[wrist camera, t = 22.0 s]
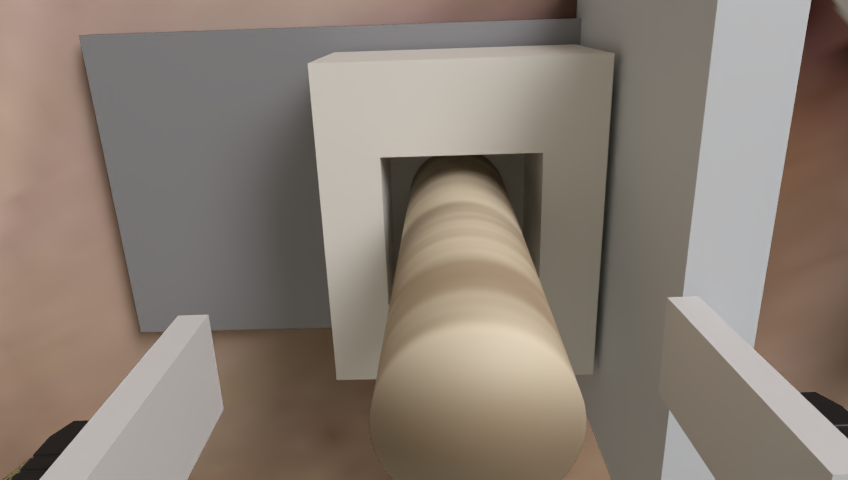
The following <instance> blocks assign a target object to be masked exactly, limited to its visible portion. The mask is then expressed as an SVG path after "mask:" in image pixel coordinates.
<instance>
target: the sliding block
mask: <svg viewBox="0 0 848 480" xmlns="http://www.w3.org/2000/svg"><path fill="white" fill-rule="evenodd" d="M614 57H615V53H611V52H607V51H603V50H598V49H594V48H589V47H585V46H580V45H576V44H568V45H538V46H508V47H478V48H448V49H418V50H388V51H358V52H334V53H331V54H329V55H326V56H324V57H322V58H319V59H317V60H314V61H312V62H310V63H308V74H309V85H310V96H311V107H312V118H313V128H314V139H315V150H316V161H317V172H318V183H319V194H320V204H321V215H322V226H323V237H324V248H325V259H326V269H327V280H328V291H329V302H330V313H331V324H332V334H333V345H334V356H335V367H336V378H337V380H360V379H376V377H377V372H378V366H379V361H380V355H381V350H382V344H383V339H384V333H385V328H386V322H387V316H388V311H389V305H390V300H391V294H392V289H393V283H394V278H395V272H396V267H397V261H398V256H399V250H400V245H401V239H402V234H403V228H404V223H405V217H406V211H407V206H408V200H409V195H410V189H411V184H412V181H413V178H414V176H415V174H416V172H417V170H418V169H419V167H420V166H421V165H422V164H423V163H424V162H425V161H426V160H427V159H428V158H430V157H431V156H451V155H483V156H484V157H486V158H487V159H488V160H489V161H491V162H492V163H493V165H494V166H495V167H496V168H497V170H498V171H499V173H500V175H501V178H502V180H503V183H504V186H505V188H506V191H507V194H508V196H509V199H510V202H511V205H512V207H513V210H514V213H515V215H516V218H517V221H518V223H519V226H520V229H521V232H522V234H523V237H524V240H525V242H526V245H527V248H528V250H529V253H530V256H531V259H532V261H533V264H534V267H535V269H536V272H537V275H538V277H539V280H540V283H541V286H542V288H543V291H544V294H545V296H546V299H547V302H548V304H549V307H550V310H551V313H552V315H553V318H554V321H555V323H556V326H557V329H558V331H559V334H560V337H561V340H562V342H563V345H564V348H565V350H566V353H567V356H568V358H569V361H570V364H571V367H572V369H573V372H574V375H589V374H593V366H594V351H595V336H596V322H597V307H598V292H599V278H600V263H601V248H602V233H603V219H604V204H605V189H606V175H607V160H608V145H609V130H610V116H611V101H612V86H613V72H614Z"/></svg>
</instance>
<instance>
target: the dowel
mask: <svg viewBox="0 0 848 480" xmlns="http://www.w3.org/2000/svg"><path fill="white" fill-rule="evenodd" d="M369 427H370V435H371V440H372V444H373V447H374V450H375V453H376V455H377V457H378V459H379V461H380V463H381V464H382V466H383V467H384V469H385V470H386V472H387V473H388V474H389V475H390V476H391V478H392V479H393V480H561V479H562V478H563V477H564V476H565V475H566V474H567V473H568V472H569V470H570V469H571V467H572V466H573V464H574V463H575V461H576V459H577V457H578V455H579V453H580V451H581V448H582V445H583V442H584V439H585V432H586V410H585V403H584V400H583V397H582V394H581V391H580V388H579V385H578V383H577V380H576V377H575V375H574V372H573V369H572V367H571V364H570V361H569V358H568V356H567V353H566V350H565V348H564V345H563V342H562V340H561V337H560V334H559V331H558V329H557V326H556V323H555V321H554V318H553V315H552V313H551V310H550V307H549V304H548V302H547V299H546V296H545V294H544V291H543V288H542V286H541V283H540V280H539V277H538V275H537V272H536V269H535V267H534V264H533V261H532V259H531V256H530V253H529V250H528V248H527V245H526V242H525V240H524V237H523V234H522V232H521V229H520V226H519V223H518V221H517V218H516V215H515V213H514V210H513V207H512V205H511V202H510V199H509V196H508V194H507V191H506V188H505V186H504V183H503V180H502V178H501V175H500V173H499V171H498V170H497V168H496V167H495V166H494V165H493V163H492V162H491V161H489V160H488V159H487V158H486V157H484V156H483V155H451V156H431V157H430V158H428V159H427V160H426V161H425V162H424V163H423V164H422V165H421V166H420V167H419V169H418V170H417V172H416V174H415V176H414V178H413V181H412V184H411V189H410V195H409V200H408V206H407V211H406V217H405V223H404V228H403V234H402V239H401V245H400V250H399V256H398V261H397V267H396V272H395V278H394V283H393V289H392V294H391V300H390V305H389V311H388V316H387V322H386V328H385V333H384V339H383V344H382V350H381V355H380V361H379V366H378V372H377V377H376V383H375V388H374V394H373V399H372V405H371V411H370V425H369Z"/></svg>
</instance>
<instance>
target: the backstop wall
mask: <svg viewBox="0 0 848 480" xmlns="http://www.w3.org/2000/svg"><path fill="white" fill-rule="evenodd" d="M810 4H811V0H577V15H576V18H565V19H536V20H506V21H477V22H448V23H419V24H389V25H360V26H331V27H301V28H272V29H243V30H214V31H184V32H155V33H126V34H96V35H79V38H80V43H81V48H82V53H83V57H84V62H85V67H86V72H87V77H88V81H89V86H90V91H91V96H92V100H93V105H94V110H95V115H96V120H97V124H98V129H99V134H100V139H101V144H102V148H103V153H104V158H105V163H106V168H107V172H108V177H109V182H110V187H111V192H112V196H113V201H114V206H115V211H116V216H117V220H118V225H119V230H120V235H121V239H122V244H123V249H124V254H125V259H126V263H127V268H128V273H129V278H130V283H131V287H132V292H133V297H134V302H135V307H136V311H137V316H138V321H139V326H140V331H141V332H165V330H166V329H167V328H168V327H169V326H170V325H171V323H172V322H173V321H174V320H175V319H176V317H177V316H181V315H209V321H210V327H211V331H214V330H256V329H298V328H332V324H331V313H330V302H329V291H328V280H327V269H326V259H325V248H324V237H323V226H322V215H321V204H320V194H319V183H318V172H317V161H316V150H315V139H314V128H313V118H312V107H311V96H310V85H309V74H308V63H310V62H312V61H314V60H317V59H319V58H322V57H324V56H326V55H329V54H331V53H334V52H358V51H388V50H418V49H448V48H478V47H508V46H538V45H568V44H576V45H580V46H585V47H589V48H594V49H598V50H603V51H607V52H611V53H615V57H614V72H613V86H612V101H611V116H610V130H609V145H608V160H607V175H606V189H605V204H604V219H603V233H602V248H601V263H600V278H599V292H598V307H597V322H596V336H595V351H594V366H593V374H589V375H575V377H576V380H577V383H578V385H579V388H580V391H581V394H582V397H583V400H584V403H585V410H586V415H587V417H588V420H589V423H590V425H591V428H592V430H593V433H594V436H595V438H596V441H597V443H598V446H599V449H600V451H601V454H602V457H603V459H604V462H605V464H606V467H607V470H608V472H609V475H610V477H611V480H715V478H714V477H713V475H712V473H711V472H710V470H709V469H708V467H707V466H706V464H705V463H704V461H703V460H702V458H701V457H700V455H699V454H698V452H697V451H696V449H695V448H694V446H693V445H692V443H691V442H690V440H689V439H688V437H687V436H686V434H685V433H684V431H683V430H682V428H681V427H680V425H679V424H678V422H677V421H676V419H675V418H674V416H673V414H672V413H671V411H670V410H669V408H668V407H667V405H666V404H665V402H664V401H663V399H662V398H661V396H660V395H659V382H660V371H661V360H662V349H663V338H664V328H665V317H666V306H667V297H688V296H698V297H699V298H700V299H701V300H703V301H704V302H705V303H706V304H707V305H708V306H709V307H710V308H711V309H712V310H713V311H714V312H715V313H716V314H717V315H718V316H719V317H720V318H721V319H722V320H724V321H725V322H726V323H727V324H728V325H729V326H730V327H731V328H732V329H733V330H734V331H735V332H736V333H737V334H738V335H739V336H740V337H741V338H742V339H744V340H745V341H746V342H747V343H748V344H749V345H750V346H751V347H752V348H754V342H755V336H756V330H757V324H758V318H759V312H760V306H761V300H762V294H763V288H764V282H765V276H766V270H767V264H768V258H769V252H770V246H771V240H772V234H773V228H774V222H775V216H776V210H777V203H778V197H779V191H780V185H781V179H782V173H783V167H784V161H785V155H786V149H787V143H788V137H789V131H790V125H791V119H792V113H793V107H794V101H795V95H796V89H797V83H798V77H799V71H800V65H801V58H802V52H803V46H804V40H805V34H806V28H807V22H808V16H809V10H810Z"/></svg>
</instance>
